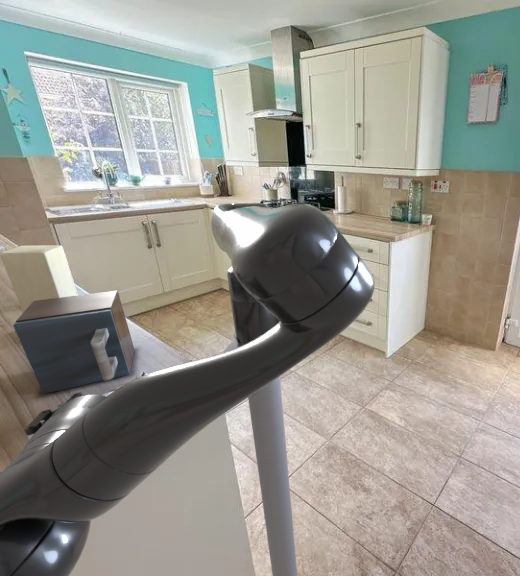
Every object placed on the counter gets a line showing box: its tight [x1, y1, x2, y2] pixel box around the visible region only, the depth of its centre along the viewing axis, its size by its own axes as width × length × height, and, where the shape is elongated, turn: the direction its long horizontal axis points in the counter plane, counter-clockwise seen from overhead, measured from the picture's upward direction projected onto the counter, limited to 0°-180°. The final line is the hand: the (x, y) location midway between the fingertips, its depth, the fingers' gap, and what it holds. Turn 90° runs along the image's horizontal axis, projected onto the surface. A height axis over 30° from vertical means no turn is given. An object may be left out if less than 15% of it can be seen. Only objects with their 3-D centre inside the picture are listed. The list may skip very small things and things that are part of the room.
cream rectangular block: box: [0, 244, 79, 313], centre depth 77 cm, size 8×7×21 cm
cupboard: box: [15, 290, 136, 371], centre depth 66 cm, size 9×13×15 cm
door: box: [12, 309, 131, 395], centre depth 59 cm, size 7×13×15 cm, turn 120°
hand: (113, 387), depth 54 cm, fingers open, 8 cm apart
